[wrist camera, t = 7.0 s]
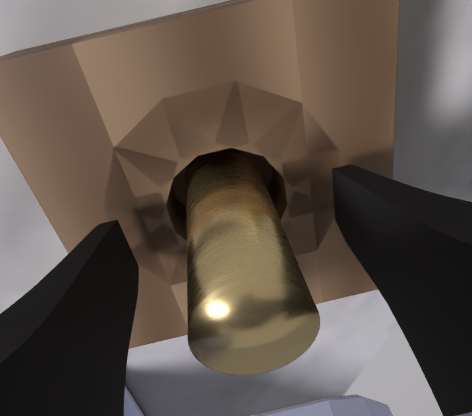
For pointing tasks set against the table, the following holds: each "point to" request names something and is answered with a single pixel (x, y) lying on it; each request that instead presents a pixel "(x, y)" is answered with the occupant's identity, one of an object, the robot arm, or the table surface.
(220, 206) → the brass peg
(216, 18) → the socket block
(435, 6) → the table surface
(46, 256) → the table surface
